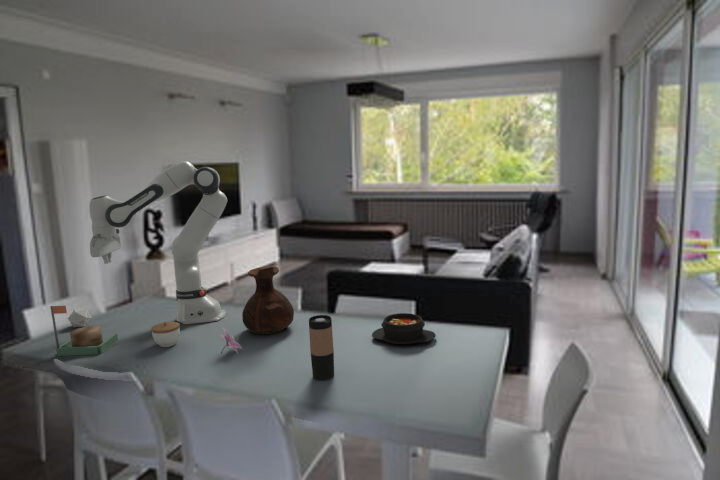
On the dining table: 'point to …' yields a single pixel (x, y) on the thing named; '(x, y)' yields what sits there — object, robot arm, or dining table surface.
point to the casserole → (403, 329)
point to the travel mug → (321, 347)
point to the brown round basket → (86, 336)
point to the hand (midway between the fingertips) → (107, 263)
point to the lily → (230, 341)
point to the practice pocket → (86, 350)
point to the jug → (266, 304)
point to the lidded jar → (166, 333)
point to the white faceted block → (79, 318)
